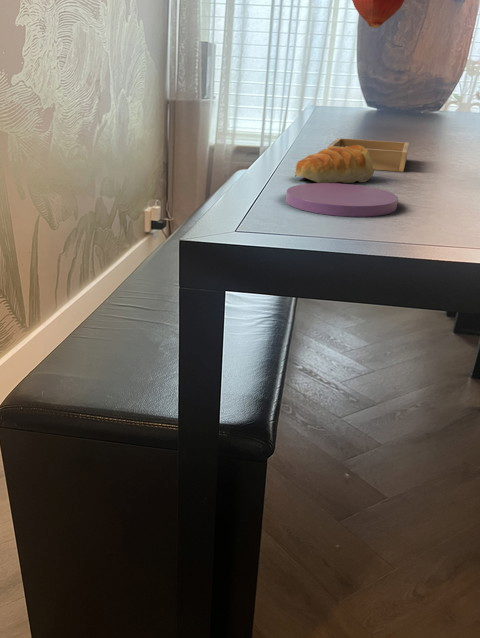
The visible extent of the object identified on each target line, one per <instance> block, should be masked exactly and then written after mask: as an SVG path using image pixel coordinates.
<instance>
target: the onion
mask: <svg viewBox="0 0 480 638" xmlns="http://www.w3.org/2000/svg"><path fill="white" fill-rule="evenodd" d="M405 1H406V0H351V2H352V4H353V7H354V8H355V10H356V11H357V13H358V14H359V16H360V17H361V18H362V19H363V20H364V21H365V22H366V24H367V25H368V27H370V28H374V29H376V28H377V29H379V27H381V26H382V25H383V24H384V23H386V22H387V21H388V20H389V19H390V18H392V17H393V16H394V15H395V14H396V13H397V12H398V11H399V10H400V8H401V7H402V6H403V4H404V2H405Z"/></svg>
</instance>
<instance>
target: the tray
mask: <svg viewBox="0 0 480 638" xmlns="http://www.w3.org/2000/svg"><path fill="white" fill-rule="evenodd" d="M354 145H360V146H363V147H364V148H366V149H367V150H368V151H369V156H370V158H371V160H372V164H373V167H374V171H387V172H400V173H404V170H405V167H406V163H407V157H408V152H409V147H410V142H403V141H389V140H373V139H361V138H360V139H358V138H345V137H341V138H340V137H336V139H335V140H333V142H331V143H330V144H329V145H328V146H327V148H329V147H346V146H347V147H351V146H354Z"/></svg>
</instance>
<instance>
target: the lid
mask: <svg viewBox="0 0 480 638" xmlns="http://www.w3.org/2000/svg"><path fill="white" fill-rule="evenodd" d="M285 202H286V204H287V205H289V206H290V207H293V208H295V209H297V210H301V211H304V212H308V213H312V214H320V215H326V216H334V217H349V218H350V217H351V218H353V217H354V218H357V217H358V218H361V217H362V218H363V217H364V218H365V217H366V218H367V217H368V218H369V217H381V216H384V215H388V214H389V215H390V214H392V213H394V212H396V210H397V207H398V202H399V197H398V195H396V194H395V193H393V192H390V191H388V190H385V189H381V188H378V187H372V186H366V185H358V184H353V183H339V182H338V183H317V182H313V183H303V184H302V183H301V184H297V185H293V186H289V187H288V188H287V189H286V193H285Z"/></svg>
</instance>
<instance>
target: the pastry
mask: <svg viewBox="0 0 480 638" xmlns="http://www.w3.org/2000/svg"><path fill="white" fill-rule="evenodd" d="M374 173H375V170H374V167H373V164H372V160H371V158H370V156H369V151H368V150H367V149H366V148H364V147H363V146H360V145H354V146H351V147H347V146H346V147H329V148H328V147H327V148H324V149H321V150H319V151H317V152H316V153H313V154H308V155H307V156H306V157H304V158H302V159H300V160H299V161H297V162H296V165H295V172H294V177H295V178H296V177H297V176H298V177H301V178H303V179H308V180H310V181H313V182H315V183H338V184H339V183H343V184H353V183H355V182H358V183H366V182H367V181H369V180H370V178H371V177H372V176H373V175H374Z"/></svg>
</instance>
